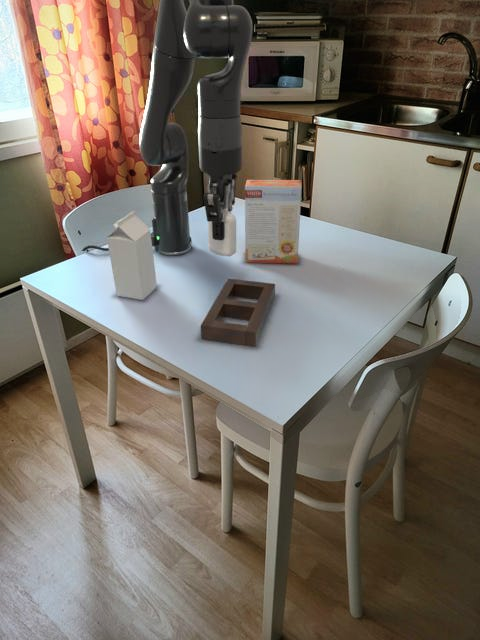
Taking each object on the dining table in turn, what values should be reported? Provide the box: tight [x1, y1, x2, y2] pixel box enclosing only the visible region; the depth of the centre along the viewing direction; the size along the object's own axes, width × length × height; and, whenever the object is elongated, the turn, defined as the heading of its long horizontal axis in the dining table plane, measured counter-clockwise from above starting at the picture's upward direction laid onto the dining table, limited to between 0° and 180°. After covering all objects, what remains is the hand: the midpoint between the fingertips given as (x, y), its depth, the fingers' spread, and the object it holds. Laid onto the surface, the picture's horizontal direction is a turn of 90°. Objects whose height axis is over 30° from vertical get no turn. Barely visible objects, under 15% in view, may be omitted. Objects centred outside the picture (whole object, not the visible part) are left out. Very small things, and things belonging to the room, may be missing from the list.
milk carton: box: [106, 210, 158, 301], centre depth 111 cm, size 7×7×19 cm
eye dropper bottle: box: [207, 202, 237, 257], centre depth 92 cm, size 4×6×12 cm
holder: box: [200, 278, 276, 348], centre depth 105 cm, size 11×21×4 cm, turn 166°
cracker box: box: [244, 179, 303, 265], centre depth 124 cm, size 14×6×21 cm, turn 84°
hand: (221, 234), depth 93 cm, fingers closed on eye dropper bottle, 4 cm apart
